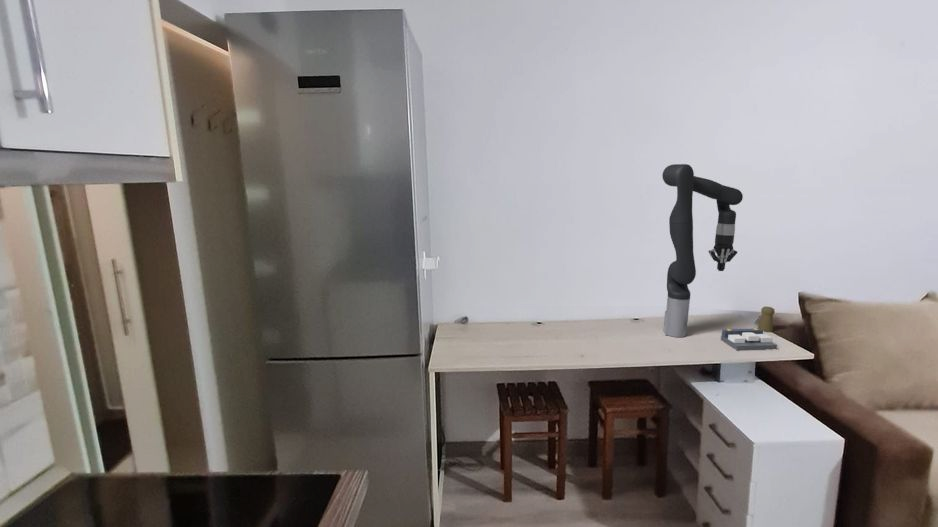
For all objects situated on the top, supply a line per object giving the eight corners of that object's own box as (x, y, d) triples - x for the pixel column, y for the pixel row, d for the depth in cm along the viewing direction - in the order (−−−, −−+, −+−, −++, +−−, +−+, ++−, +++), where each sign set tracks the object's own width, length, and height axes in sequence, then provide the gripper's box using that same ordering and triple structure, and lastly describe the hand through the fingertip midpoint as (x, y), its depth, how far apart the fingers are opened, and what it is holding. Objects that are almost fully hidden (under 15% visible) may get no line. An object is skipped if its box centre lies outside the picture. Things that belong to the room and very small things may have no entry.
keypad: (736, 350, 206) (738, 338, 205) (720, 339, 218) (722, 328, 217) (776, 349, 207) (778, 337, 206) (758, 339, 219) (759, 327, 218)
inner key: (734, 343, 208) (734, 338, 208) (727, 339, 213) (728, 334, 212) (744, 342, 209) (745, 338, 208) (738, 338, 213) (738, 334, 213)
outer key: (761, 342, 209) (762, 338, 209) (754, 338, 213) (755, 334, 213) (772, 342, 209) (772, 337, 209) (765, 338, 214) (765, 333, 213)
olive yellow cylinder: (774, 332, 227) (778, 309, 224) (760, 331, 228) (763, 308, 225) (769, 328, 232) (773, 305, 230) (755, 327, 234) (758, 304, 231)
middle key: (748, 340, 208) (748, 336, 208) (741, 336, 213) (742, 332, 212) (758, 340, 209) (759, 336, 208) (752, 336, 213) (752, 332, 213)
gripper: (715, 234, 220) (711, 272, 224) (744, 234, 221) (739, 272, 225) (706, 232, 228) (702, 269, 232) (734, 231, 229) (729, 268, 232)
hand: (720, 270), depth 228 cm, fingers closed
